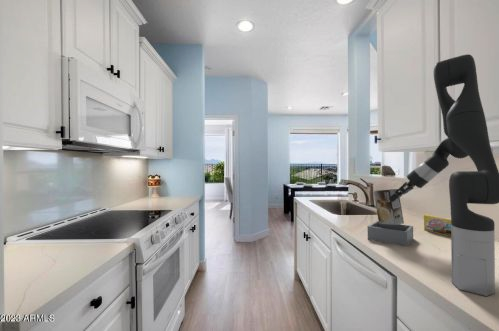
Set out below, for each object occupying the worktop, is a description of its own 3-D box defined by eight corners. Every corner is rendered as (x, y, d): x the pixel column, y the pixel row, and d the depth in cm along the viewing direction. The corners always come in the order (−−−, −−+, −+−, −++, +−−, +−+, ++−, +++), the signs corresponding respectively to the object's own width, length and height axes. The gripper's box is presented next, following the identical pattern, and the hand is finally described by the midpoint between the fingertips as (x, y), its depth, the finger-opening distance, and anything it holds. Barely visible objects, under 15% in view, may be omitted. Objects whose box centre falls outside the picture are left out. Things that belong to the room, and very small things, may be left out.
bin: (407, 246, 105) (407, 232, 105) (367, 238, 116) (367, 226, 116) (413, 238, 116) (413, 226, 116) (376, 232, 127) (376, 221, 127)
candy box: (423, 230, 130) (423, 214, 130) (426, 229, 131) (426, 214, 131) (458, 238, 115) (458, 221, 115) (461, 238, 116) (461, 220, 116)
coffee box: (405, 223, 113) (399, 188, 115) (395, 225, 111) (390, 189, 113) (387, 222, 122) (381, 189, 124) (378, 224, 119) (372, 190, 121)
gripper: (417, 168, 114) (389, 191, 122) (411, 169, 104) (381, 195, 112) (431, 180, 111) (402, 203, 119) (427, 182, 100) (395, 207, 108)
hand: (392, 199), depth 115 cm, fingers closed on coffee box, 7 cm apart
